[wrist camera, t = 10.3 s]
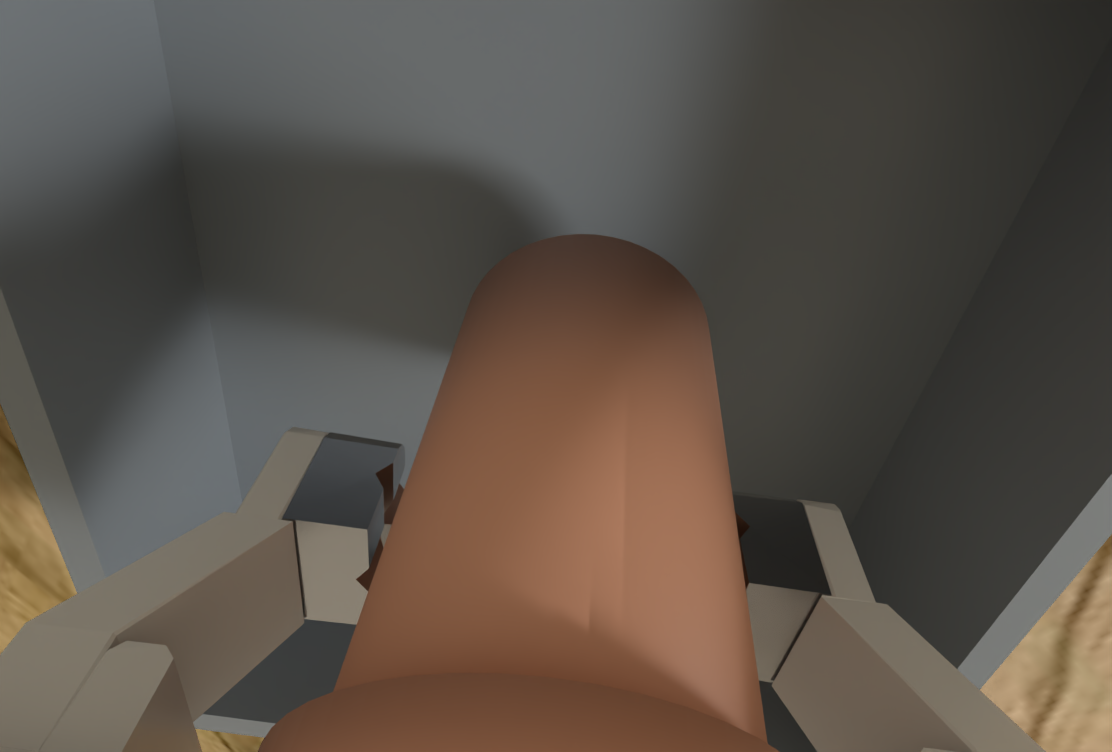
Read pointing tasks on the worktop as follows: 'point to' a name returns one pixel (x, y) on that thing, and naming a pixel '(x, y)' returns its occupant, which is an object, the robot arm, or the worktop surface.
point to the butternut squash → (559, 534)
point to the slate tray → (564, 209)
